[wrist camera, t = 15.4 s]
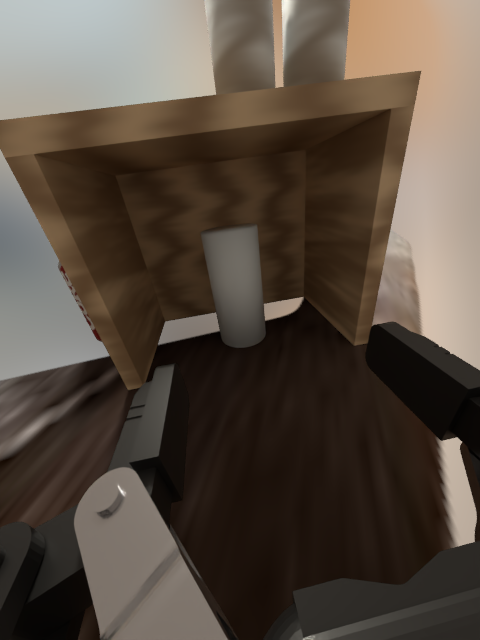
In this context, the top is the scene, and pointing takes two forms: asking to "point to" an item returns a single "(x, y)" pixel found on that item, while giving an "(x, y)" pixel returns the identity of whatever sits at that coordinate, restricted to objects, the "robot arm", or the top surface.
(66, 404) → the top surface
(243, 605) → the top surface
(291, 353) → the top surface
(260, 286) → the white cylinder
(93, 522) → the robot arm
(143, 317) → the oak shelf
